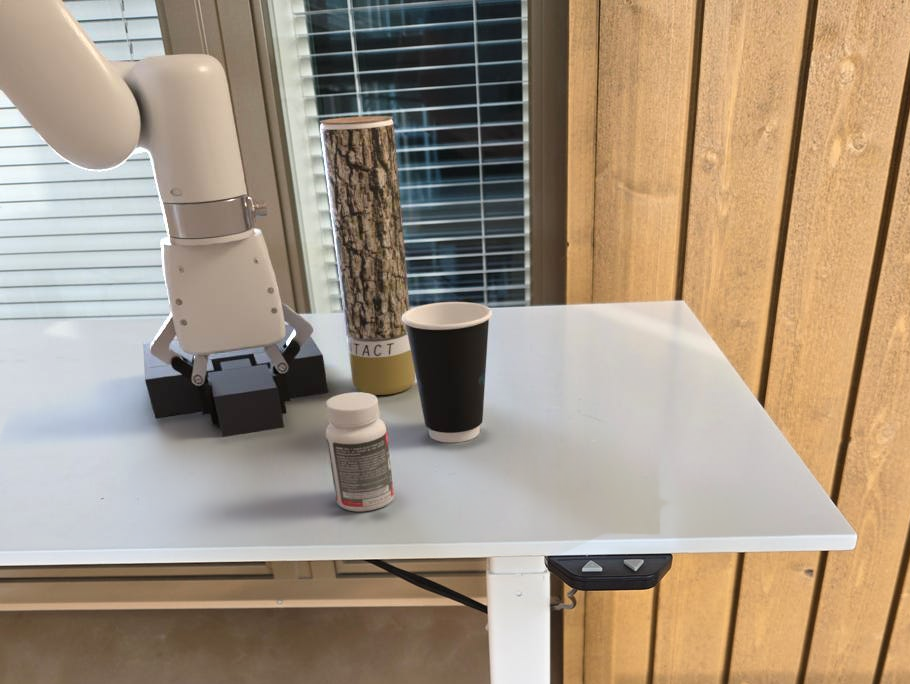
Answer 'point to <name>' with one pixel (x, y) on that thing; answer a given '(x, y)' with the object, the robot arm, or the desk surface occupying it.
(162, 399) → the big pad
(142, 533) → the desk surface
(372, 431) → the pill bottle
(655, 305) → the desk surface
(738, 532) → the desk surface
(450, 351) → the dixie cup
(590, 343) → the desk surface
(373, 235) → the paper tube
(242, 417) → the dark grey stepped block
